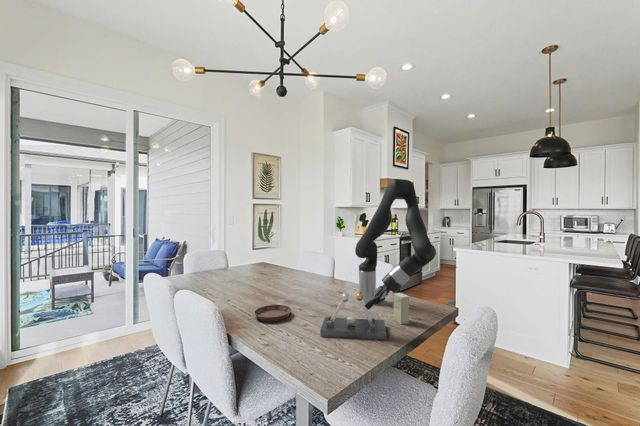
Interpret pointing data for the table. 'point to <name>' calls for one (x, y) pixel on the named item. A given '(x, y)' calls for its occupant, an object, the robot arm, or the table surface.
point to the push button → (351, 320)
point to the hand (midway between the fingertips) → (366, 307)
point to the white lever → (344, 299)
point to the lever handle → (360, 298)
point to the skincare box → (401, 308)
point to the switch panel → (353, 329)
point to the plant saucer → (272, 312)
